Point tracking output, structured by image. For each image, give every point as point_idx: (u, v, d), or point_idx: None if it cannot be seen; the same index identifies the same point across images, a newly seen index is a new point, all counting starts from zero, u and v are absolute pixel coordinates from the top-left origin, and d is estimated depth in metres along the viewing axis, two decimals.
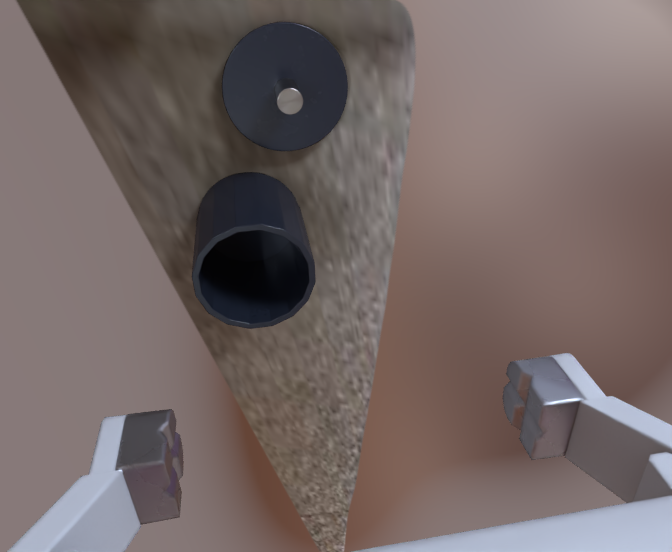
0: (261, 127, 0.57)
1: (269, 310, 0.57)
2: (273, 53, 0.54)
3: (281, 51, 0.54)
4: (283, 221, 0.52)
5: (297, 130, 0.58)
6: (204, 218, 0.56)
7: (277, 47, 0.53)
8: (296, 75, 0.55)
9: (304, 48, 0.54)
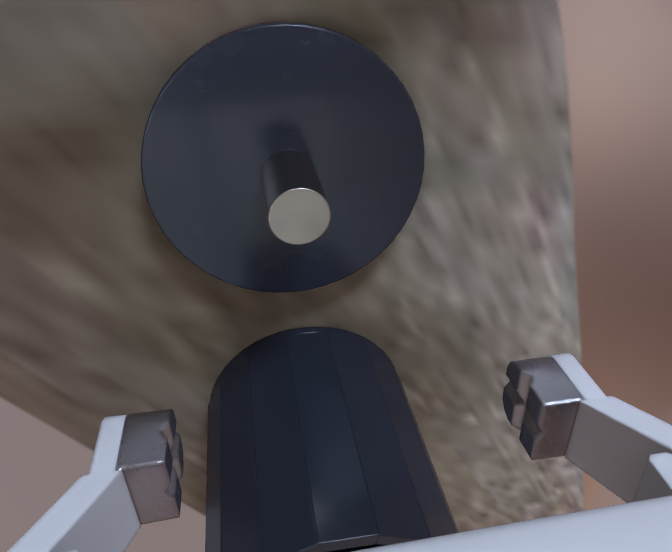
0: (265, 260, 0.27)
1: None
2: (232, 111, 0.23)
3: (248, 101, 0.23)
4: (368, 492, 0.22)
5: (339, 240, 0.27)
6: (210, 482, 0.27)
7: (235, 95, 0.23)
8: (299, 138, 0.24)
9: (296, 75, 0.23)
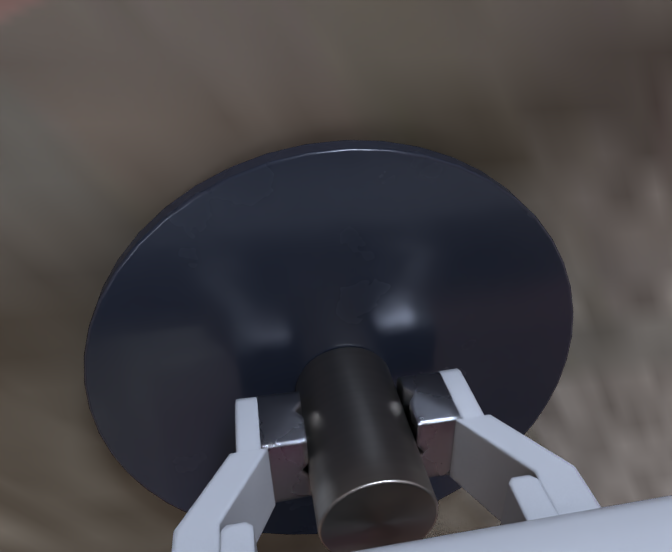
0: None
1: None
2: (247, 295, 0.13)
3: (277, 277, 0.12)
4: None
5: None
6: None
7: (254, 270, 0.12)
8: (365, 328, 0.14)
9: (366, 232, 0.12)
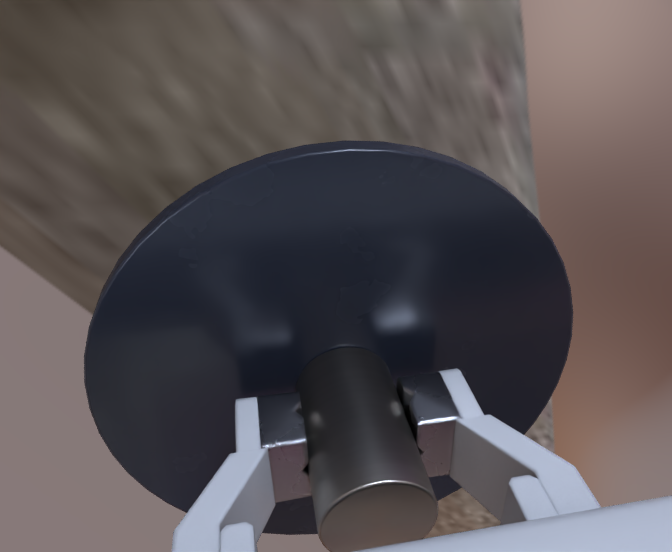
0: None
1: None
2: (247, 295, 0.13)
3: (277, 278, 0.12)
4: None
5: None
6: None
7: (255, 270, 0.12)
8: (365, 328, 0.14)
9: (367, 232, 0.12)
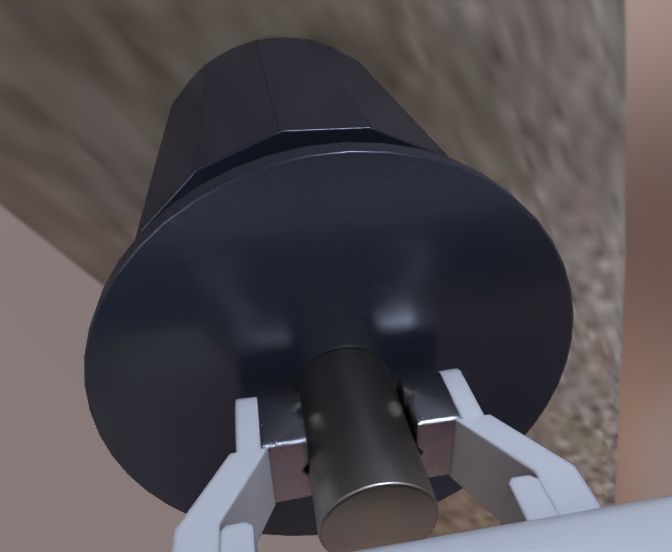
0: (298, 498, 0.16)
1: None
2: (248, 297, 0.13)
3: (277, 279, 0.12)
4: (356, 107, 0.15)
5: None
6: None
7: (255, 272, 0.12)
8: (365, 329, 0.14)
9: (367, 234, 0.12)
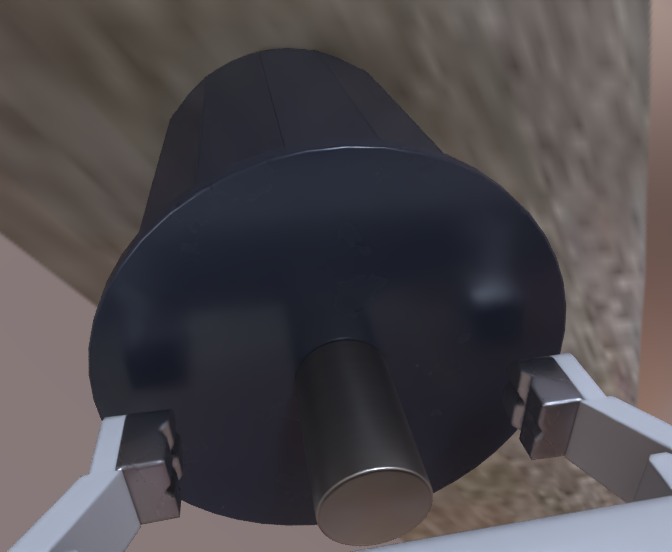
0: (297, 488, 0.17)
1: None
2: (248, 289, 0.13)
3: (276, 272, 0.13)
4: (372, 130, 0.14)
5: None
6: None
7: (255, 264, 0.13)
8: (362, 321, 0.14)
9: (364, 228, 0.13)
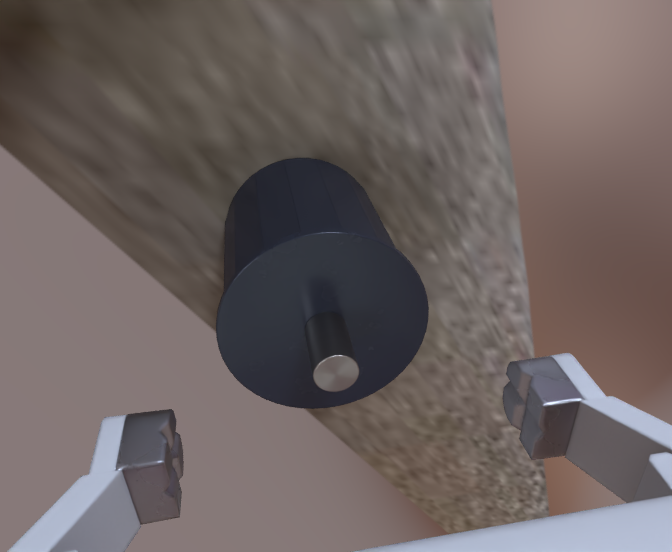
0: (305, 386, 0.35)
1: None
2: (285, 289, 0.31)
3: (297, 281, 0.31)
4: (338, 220, 0.32)
5: (363, 371, 0.35)
6: (227, 250, 0.37)
7: (288, 278, 0.31)
8: (334, 303, 0.32)
9: (333, 263, 0.31)
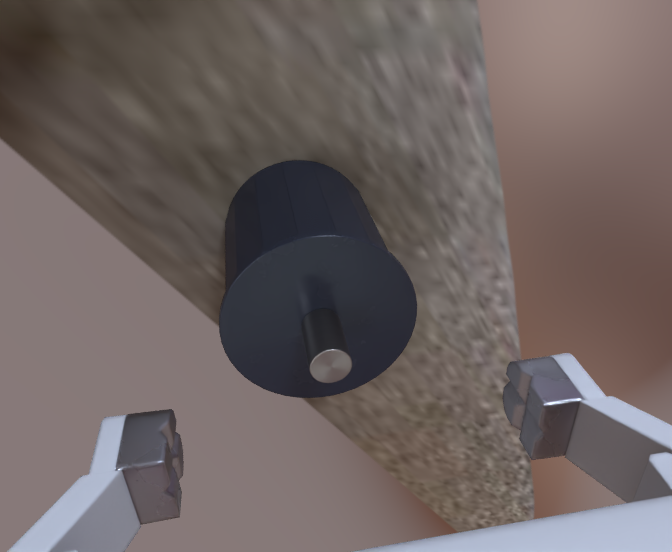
0: (302, 377, 0.37)
1: None
2: (283, 287, 0.33)
3: (294, 281, 0.33)
4: (333, 222, 0.34)
5: (356, 362, 0.37)
6: (228, 249, 0.39)
7: (286, 278, 0.33)
8: (329, 300, 0.34)
9: (328, 264, 0.33)
